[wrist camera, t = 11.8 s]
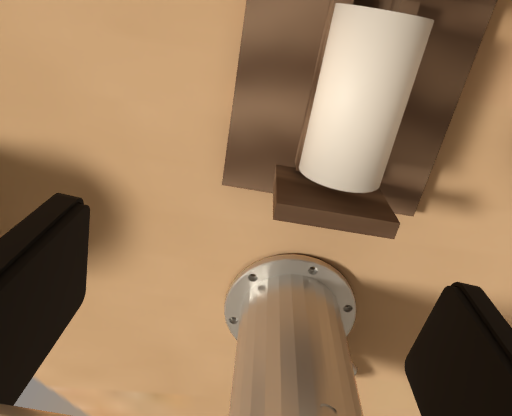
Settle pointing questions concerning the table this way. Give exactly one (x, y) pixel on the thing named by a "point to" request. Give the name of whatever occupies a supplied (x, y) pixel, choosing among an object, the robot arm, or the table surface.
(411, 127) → the roll holder
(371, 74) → the paper towel roll
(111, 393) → the table surface
